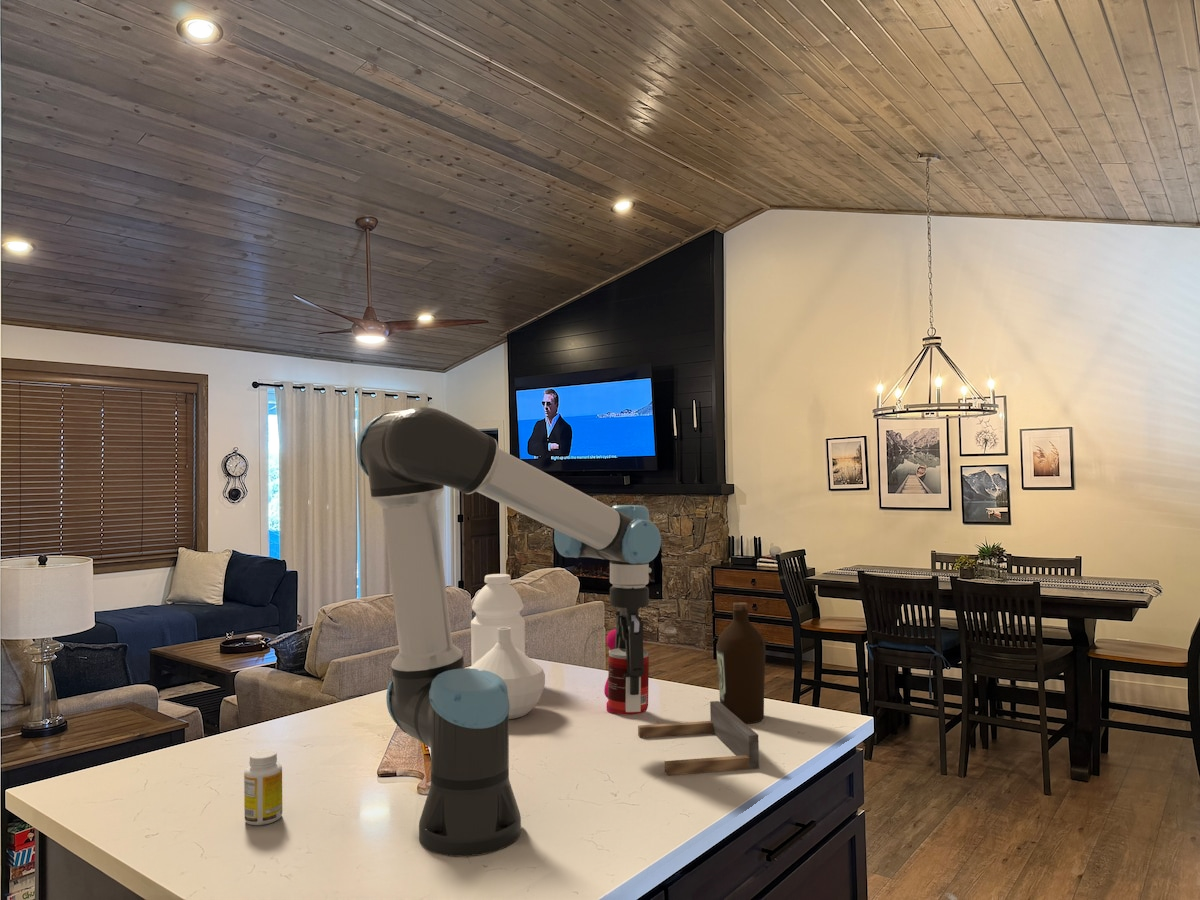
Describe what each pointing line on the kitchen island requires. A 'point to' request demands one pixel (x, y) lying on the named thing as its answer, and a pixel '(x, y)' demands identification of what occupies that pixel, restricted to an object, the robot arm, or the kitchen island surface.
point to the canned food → (624, 682)
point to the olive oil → (742, 667)
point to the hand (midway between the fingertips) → (628, 705)
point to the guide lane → (724, 728)
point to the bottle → (496, 616)
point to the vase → (514, 673)
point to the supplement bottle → (263, 788)
